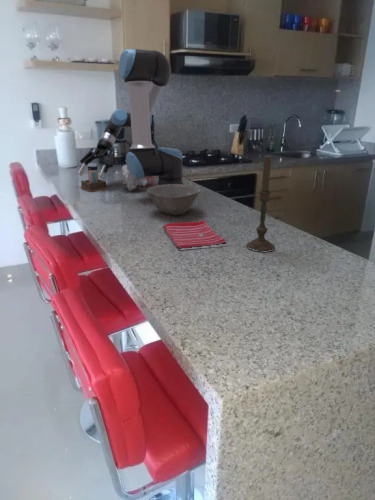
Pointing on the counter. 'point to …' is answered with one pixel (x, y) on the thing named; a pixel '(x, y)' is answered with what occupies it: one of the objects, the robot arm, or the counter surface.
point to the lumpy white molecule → (133, 179)
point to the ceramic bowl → (173, 197)
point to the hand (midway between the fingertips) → (90, 175)
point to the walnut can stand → (93, 185)
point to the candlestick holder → (263, 210)
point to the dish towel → (192, 234)
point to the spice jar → (93, 172)
